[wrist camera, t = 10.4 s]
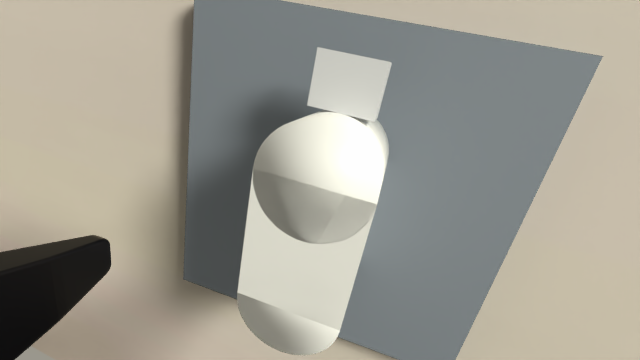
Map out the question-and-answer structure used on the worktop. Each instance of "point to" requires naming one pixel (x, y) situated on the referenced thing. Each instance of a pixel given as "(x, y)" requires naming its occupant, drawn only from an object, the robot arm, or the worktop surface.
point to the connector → (314, 207)
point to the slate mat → (403, 161)
